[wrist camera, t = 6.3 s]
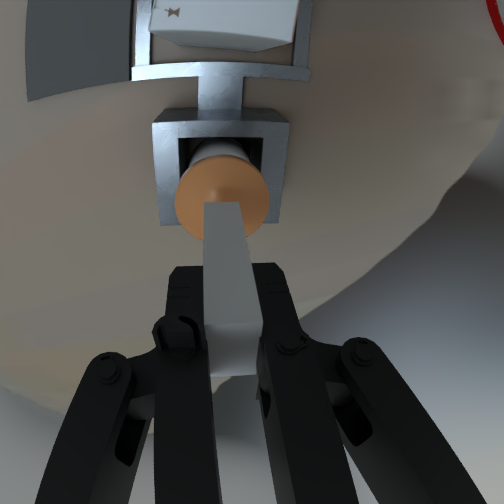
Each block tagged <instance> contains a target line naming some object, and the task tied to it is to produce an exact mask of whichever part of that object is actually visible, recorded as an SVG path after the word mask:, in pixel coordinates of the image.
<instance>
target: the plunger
mask: <svg viewBox="0 0 504 504" xmlns="http://www.w3.org/2000/svg"><path fill="white" fill-rule="evenodd" d="M204 202H239V204H240V209H241V214H242V219H243V224H244V229H245V234H246V237H248V236H249V235H251V234H252V233H253V232H255V231H256V230H257V229H258V228H259V227H260V226H261V224H262V223H263V221H264V220H265V218H266V216H267V213H268V210H269V205H270V197H269V191H268V188H267V185H266V183H265V180H264V178H263V176H262V175H261V173H260V172H259V170H258V169H257V168H256V167H255V166H254V165H253V164H251V163H250V160H249V158H248V155H247V152H246V150H245V149H244V147H243V146H242V145H241V144H240V143H239V142H237V141H236V140H234V139H231V138H228V137H212V138H208V139H206V140H204V141H203V142H201V143H200V144H199V145H198V146H197V147H196V148H195V149H194V151H193V153H192V155H191V158H190V163H189V168H188V169H187V170H186V171H185V172H184V174H183V175H182V177H181V179H180V181H179V183H178V186H177V190H176V194H175V211H176V215H177V217H178V219H179V222H180V223H181V225H182V226H183V227H184V228H185V229H186V230H187V231H188V232H189V233H190V234H191V235H193V236H194V237H196V238H198V239H200V240H203V229H204Z"/></svg>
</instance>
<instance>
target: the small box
mask: <svg viewBox="0 0 504 504" xmlns="http://www.w3.org/2000/svg"><path fill="white" fill-rule="evenodd" d="M299 4H300V0H154V3H153V8H152V11H151V16H150V21H149V26H148V31H149V32H151V33H153V34H155V35H157V36H159V37H162V38H164V39H166V40H168V41H171V42H172V43H174V44H176V45H178V46H192V47H209V48H221V49H231V50H240V51H248V52H258V51H262V50H266V49H269V48H273V47H278V46H281V45H285V44H289V43H292V42H293V37H294V32H295V26H296V21H297V15H298V9H299Z"/></svg>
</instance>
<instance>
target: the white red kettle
mask: <svg viewBox="0 0 504 504" xmlns="http://www.w3.org/2000/svg"><path fill="white" fill-rule="evenodd" d="M486 3H487V7H488V11H489V14H490V16H491V19H492V22H493V25H494V27H495V29H496V31H497V33H498V35H499V37H500V39H501V41H502V43H503V45H504V0H486Z"/></svg>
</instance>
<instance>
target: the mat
mask: <svg viewBox="0 0 504 504" xmlns="http://www.w3.org/2000/svg"><path fill="white" fill-rule="evenodd" d="M132 10H133V0H28V5H27V17H26V37H25V65H26V86H27V98H28V102H30V101H33V100H36V99H40V98H44V97H47V96H51V95H55V94H59V93H63V92H68V91H72V90H77V89H81V88H86V87H92V86H97V85H103V84H109V83H116V82H123V81H130V80H131V30H132Z"/></svg>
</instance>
